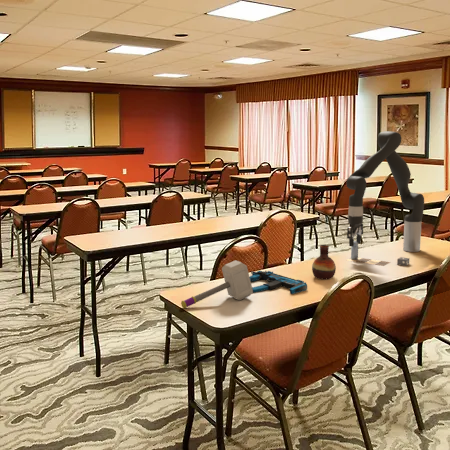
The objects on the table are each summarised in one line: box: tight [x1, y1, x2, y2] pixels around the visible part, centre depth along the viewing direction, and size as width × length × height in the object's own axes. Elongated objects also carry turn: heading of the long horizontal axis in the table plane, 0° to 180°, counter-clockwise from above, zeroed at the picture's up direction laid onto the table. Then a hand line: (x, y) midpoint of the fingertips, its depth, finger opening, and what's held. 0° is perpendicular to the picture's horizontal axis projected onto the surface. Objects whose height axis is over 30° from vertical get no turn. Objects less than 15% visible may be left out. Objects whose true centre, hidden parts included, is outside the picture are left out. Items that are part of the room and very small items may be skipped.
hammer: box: [180, 260, 254, 309], centre depth 219 cm, size 15×8×30 cm
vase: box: [311, 244, 337, 281], centre depth 254 cm, size 11×11×15 cm
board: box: [347, 257, 391, 267], centre depth 280 cm, size 10×21×1 cm, turn 51°
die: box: [396, 256, 410, 267], centre depth 272 cm, size 5×5×5 cm
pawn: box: [350, 240, 359, 261], centre depth 284 cm, size 4×4×10 cm
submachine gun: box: [249, 270, 308, 295], centre depth 243 cm, size 34×4×25 cm
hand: (354, 244), depth 283 cm, fingers open, 8 cm apart
